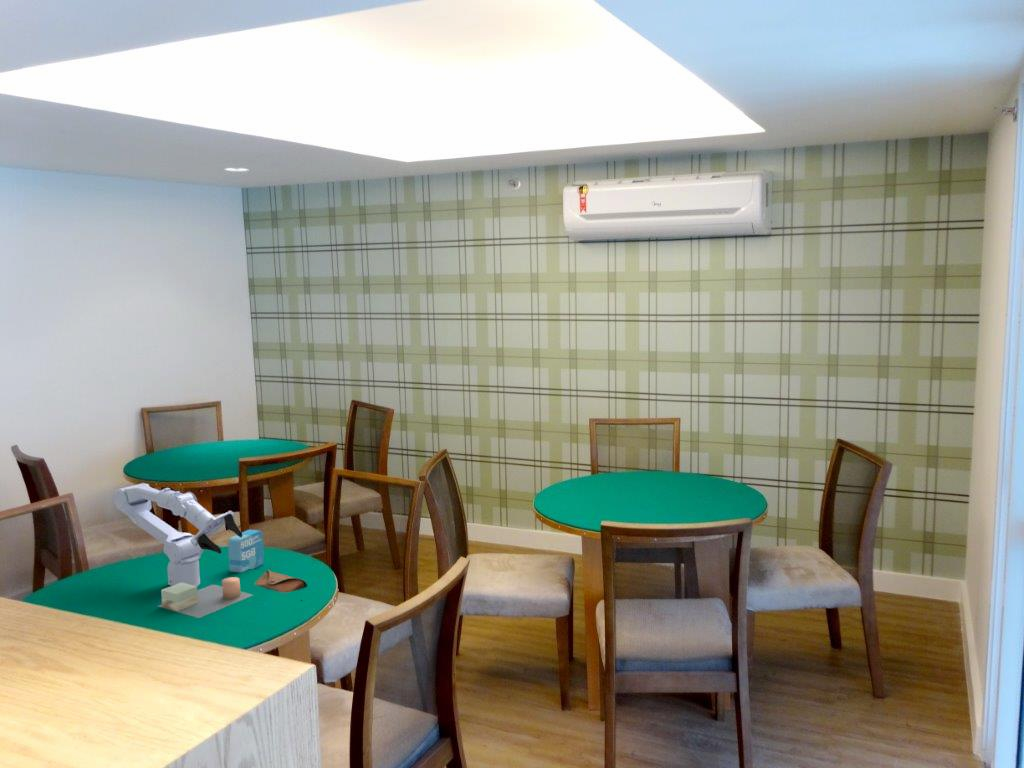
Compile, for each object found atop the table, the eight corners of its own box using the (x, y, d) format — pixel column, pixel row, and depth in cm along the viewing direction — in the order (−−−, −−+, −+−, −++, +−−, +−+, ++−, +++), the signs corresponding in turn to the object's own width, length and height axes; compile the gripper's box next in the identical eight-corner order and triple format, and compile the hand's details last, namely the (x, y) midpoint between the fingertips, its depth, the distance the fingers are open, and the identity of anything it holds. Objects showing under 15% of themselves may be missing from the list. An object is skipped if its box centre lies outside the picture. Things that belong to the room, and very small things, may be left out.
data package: (240, 575, 275) (238, 540, 273) (229, 574, 277) (227, 538, 275) (264, 564, 286) (262, 529, 284) (253, 562, 288) (251, 528, 286)
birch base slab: (162, 606, 247) (161, 598, 247) (182, 598, 253) (182, 590, 253) (177, 611, 244) (177, 602, 243) (198, 602, 250) (197, 594, 249)
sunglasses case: (246, 586, 265) (254, 565, 267) (262, 591, 270) (270, 571, 272) (287, 597, 255) (294, 576, 257) (302, 602, 261) (310, 581, 263)
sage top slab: (161, 598, 247) (161, 589, 247) (182, 590, 253) (181, 582, 253) (177, 602, 243) (176, 594, 243) (197, 594, 249) (197, 586, 249)
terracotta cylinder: (219, 597, 254) (218, 581, 253) (232, 591, 258) (231, 576, 257) (230, 600, 251) (229, 584, 251) (244, 595, 255) (243, 579, 255)
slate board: (157, 609, 248) (157, 605, 248) (213, 587, 265) (213, 584, 265) (198, 621, 239) (198, 618, 238) (253, 598, 256) (253, 594, 255)
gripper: (178, 525, 251) (207, 550, 245) (218, 496, 259) (248, 519, 253) (183, 540, 255) (212, 564, 250) (223, 510, 264) (251, 533, 258)
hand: (230, 543), depth 252 cm, fingers open, 7 cm apart
